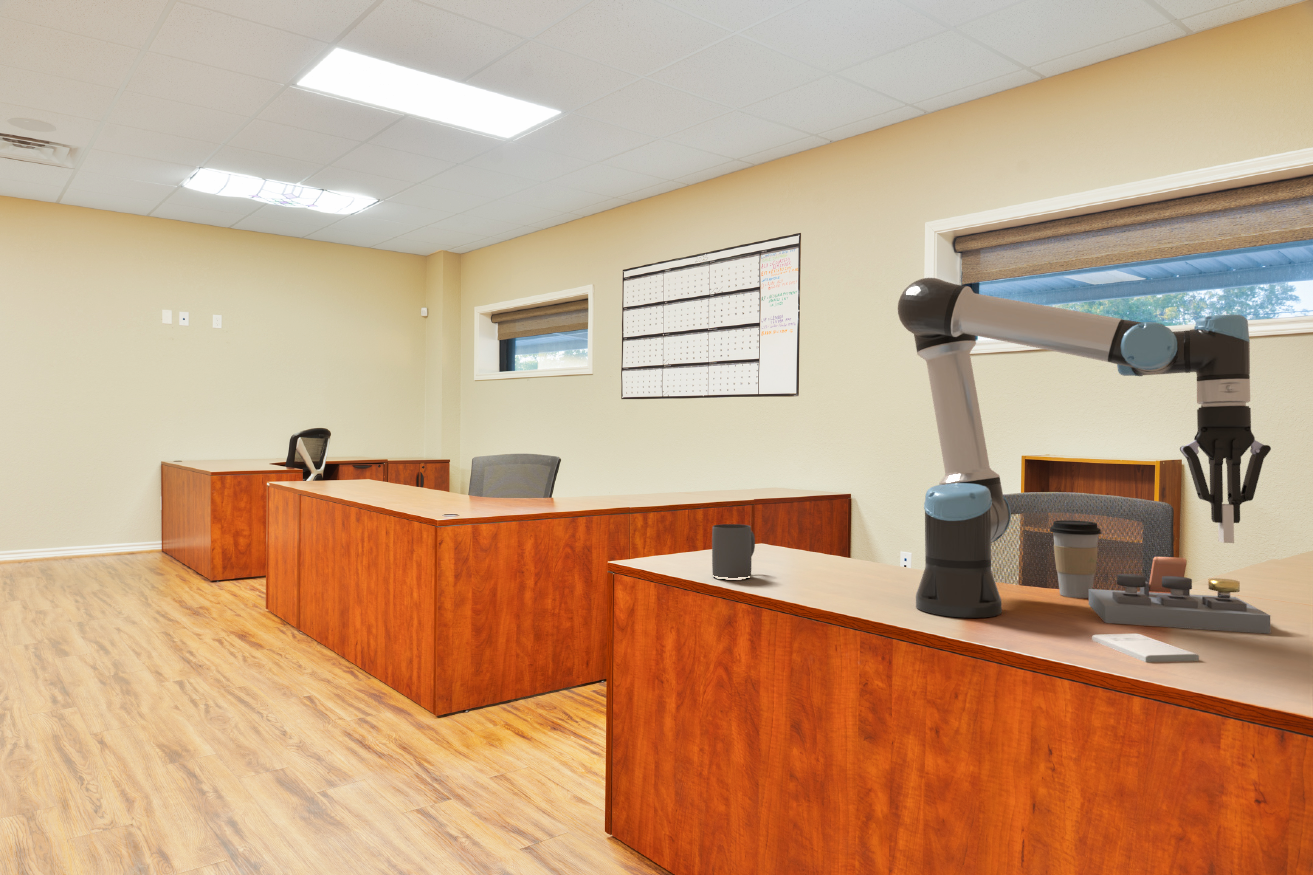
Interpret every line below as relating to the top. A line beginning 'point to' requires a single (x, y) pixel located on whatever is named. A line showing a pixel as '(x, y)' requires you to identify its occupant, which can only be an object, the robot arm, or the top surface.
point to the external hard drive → (1144, 648)
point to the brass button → (1223, 586)
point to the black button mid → (1176, 584)
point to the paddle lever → (1165, 571)
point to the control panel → (1178, 610)
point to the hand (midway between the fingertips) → (1226, 541)
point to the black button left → (1131, 582)
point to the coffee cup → (1075, 556)
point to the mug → (732, 550)
